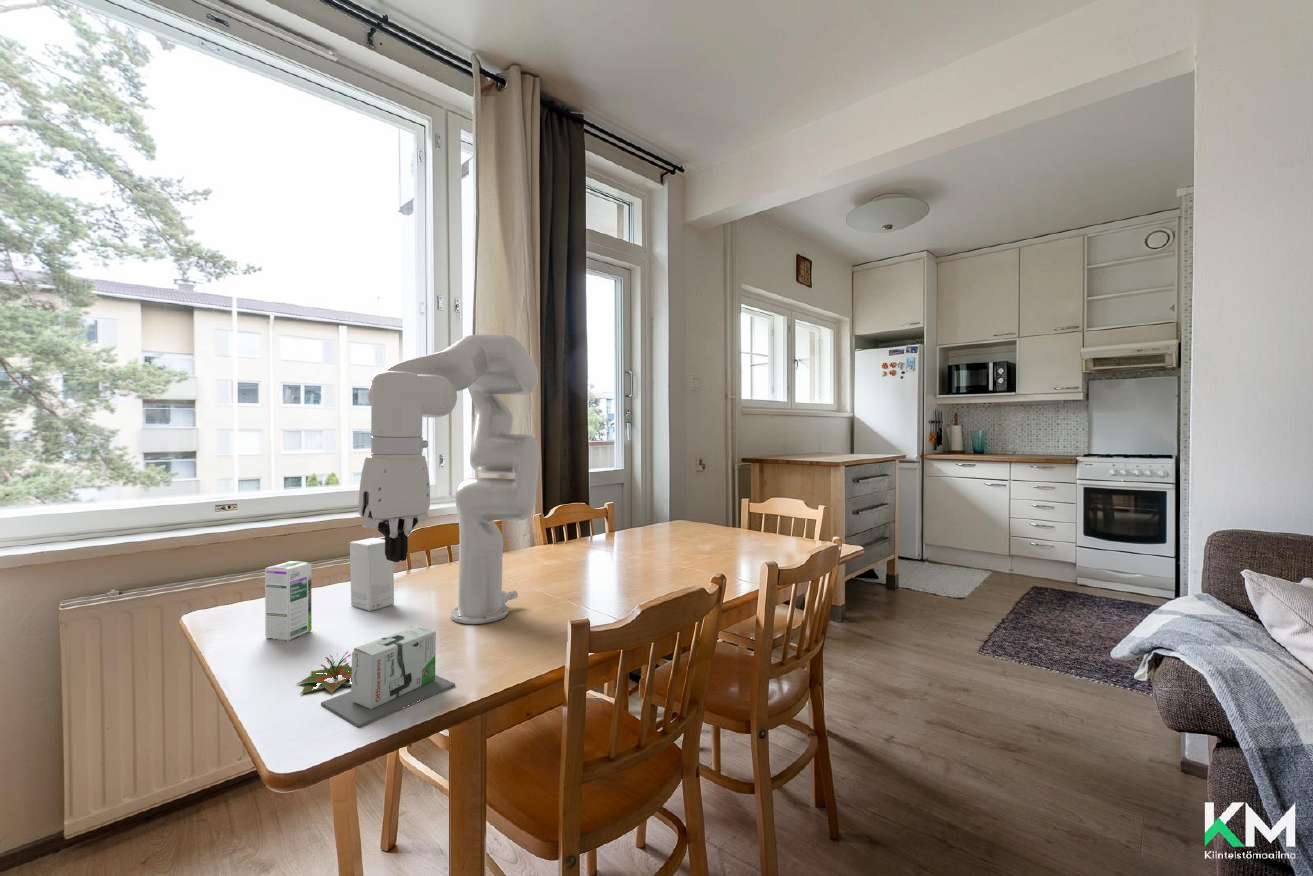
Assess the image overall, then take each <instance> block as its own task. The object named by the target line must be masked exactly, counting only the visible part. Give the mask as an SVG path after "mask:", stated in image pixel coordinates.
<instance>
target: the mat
mask: <svg viewBox="0 0 1313 876" xmlns="http://www.w3.org/2000/svg"><path fill="white" fill-rule="evenodd" d="M453 686H454V687H456V683H455V682H453V681H450V680H448V679H445V678H443V677H441V676H439V675H437V674H435V680H433V681H431V682H429V683H427V684H425V685H423V686H420V687H418V688H416V689H414V690H412V691H410V692H407V693H405V694H403V695H401V696H399V697H396V698H395V699H392V700H390V701H388V702H386V703H384V704H381V705H379V706H377V707H375V708H373V709H369V708H367V707H365V706H362V705H360V704H358V703H355V702H353V701H352V699H351V690H350V691H348V692H345V693H342V694H340V695H337V696H335V697H332V698H329V699H326V700H324V701H321V702H320V706H322V707H324V708H325V709H327V710H329V711H331V712H332V713H334V714H335V715H337V716H338V717H340V718H342V719H344V720H346V721H347V722H349V723H350V724H352V725H354V726H355V725H356V727H357V726H358V727H357V728H361V726H362V727H364V726H366V725H368V724H367V723H369V724H371V723H373V722H376V721H377V720H381V719H383V718H385V717H387V716H389V715H392V714H394V713H396V712H398V711H397V710H399V711H400V709H401V710H403V709H404V708H403V707H405V708H407V707H406V706H408V705H410V706H412V705H414V704H413V703H415V702H417V701H419V700H422V699H424V698H426V697H428V696H431V697H433V696H435V695H438V694H439V692H440V693H442V692H444V690H445V691H447V690H449V689H451V688H454V687H453ZM450 687H451V688H450ZM448 688H449V689H448ZM446 689H447V690H446ZM441 691H442V692H441ZM437 693H438V694H437ZM434 694H435V695H434ZM432 695H433V696H432ZM428 698H429V697H428ZM426 699H427V698H426ZM424 700H425V699H424ZM422 701H423V700H422ZM419 702H420V701H419ZM417 703H418V702H417ZM415 704H416V703H415ZM408 707H409V706H408ZM402 708H403V709H402ZM395 711H396V712H395ZM393 712H394V713H393ZM388 714H389V715H388ZM386 715H387V716H386ZM375 720H376V721H375ZM365 724H366V725H365ZM363 725H364V726H363Z"/></svg>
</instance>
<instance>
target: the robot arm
mask: <svg viewBox="0 0 1313 876" xmlns="http://www.w3.org/2000/svg"><path fill="white" fill-rule="evenodd" d="M538 385H539V372H538V368H537V366H536V364H535V361H534V359H533V358H532V357H531V355H530V354H529V352H528V351H527V349H526V347H525V346H524V345H523V344H522V342H521V341H519V339H517V338H515V337H514V336H512V335H507V334H470V335H467V336H464V337H462V338H461V339H459V340H458V341H456V342H454V343H452V344H451V345H450V346H448V347H447V348H445V349H444V350H442V351H438V352H434V353H430V354H426V355H424V356H418V357H415V358H411V359H407V360H405V361H403V360H402V361H400V362H398V363H395V364H393V365H391V366H389V367H388V368H386V369H384V370H381V371H377V372H375V373H374V374H373V376H372V377H371V383H370V385H369V387H368V392H367V393H368V394H367V397H368V402H369V405H370V408H371V411H370V414H371V415H370V417H371V419H370V420H371V421H370V431H371V433H370V436H371V437H370V438H371V439H370V453H371V454H370V456H365V458H364V461H363V462H364V463H363V466H362V470H361V475H360V482H359V492H358V493H359V495H358V508H357V509H358V515H359V516H360V517H362V523H361V526H362V528H365V529H372V530H377V531H378V532H379V533H380V534H381V536H382V537H384V539H385V555H386V559H387V560H390V561H393V563H399V562H403V561H407V554H408V552H409V551H408V549H409V547H408V546H409V545H408V544H409V543H408V542H409V537H410V535H411V534H412V532H413V531H412V530H413V529H414V528H415V526H416V525H417V524H419V523H422V522H423V521H426V520H428V519H429V513H428V511H429V510H430V506H431V486H430V485H431V483H430V475H429V467H428V463H427V462H428V461H427V459H426V456H425V455H423V453H424V451H423V450H424V449H427V448H428V447H429V441H428V440H424V437H423V418H442V417H446V416H447V415H448V414H450V413H451V412H452V411H453V410H454V409H455V407H456V404H457V401H458V395H457V394H458V393H457V392H462V391H464V390H466V389H468V392H469V396H470V397H471V400H472V403H473V407H474V409H475V422H474V429H473V435H472V440H471V447H470V454H469V455H470V456H469V462H470V463H469V464H470V466H471V468H472V470H474V471H476V472H477V473H480V474H481V473H482V474H491V475H492V474H493V475H514V478H502V477H501V478H499V477H472V478H467V479H465V480H463V481H462V482H461V483H459V485H458V487H457V489H456V492H455V507H456V511H457V512H456V513H457V517H458V526H459V529H458V530H459V553H458V554H459V555H458V558H459V559H458V602H457V603H458V605H457V607H455V608H454V609H452V611H450V618H451V620H452V621H454V622H456V623H459V624H465V625H466V624H467V625H478V624H479V625H480V624H488V623H492V622H496V621H500V620H502V619H504V618H506V617H507V616H508V615H509V611H510V610H509V607H508V605H506V603H507V602H508V601H511V600H514V599H517V598H518V596H519V594H518V591H517V590H511V591H508V592H506V591H505V590H503V561H504V559H503V557H504V556H503V554H504V553H503V552H504V538H503V534H502V532H501V530H500V528H499V527H498V525H497V524H496V522H495V521H512V522H513V521H525V520H527V519H529V518H530V517H531V516H532V513H533V512H534V508H535V502H536V496H537V494H536V493H537V487H538V486H537V485H538V477H539V467H540V459H541V458H540V446H539V443H538V441H537V439H536V438H535V437H534V436H531V435H529V434H523V433H522V434H521V433H512V427H513V420H514V419H513V414H512V412H511V410H510V409H509V407H508V405H507V404H506V403H505V401H503V399H502V398H501V397H500V396H499V395H515V396H516V395H518V396H519V395H520V396H524V395H529V394H532V393H533V392H534V391H535V390H536V389H537V387H538ZM507 614H508V615H507ZM506 615H507V616H506ZM505 616H506V617H505ZM499 619H500V620H499Z"/></svg>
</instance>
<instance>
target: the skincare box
mask: <svg viewBox="0 0 1313 876" xmlns="http://www.w3.org/2000/svg"><path fill="white" fill-rule="evenodd" d="M349 559H350V560H349V564H350V606H351V605H352V607H354V608H355V607H356V608H359V609H362V610H365V611H368V612H371V611H376V610H380V609H383V608H386V607H390V606H393V605H394V604H395V586H394V585H395V583H394V582H395V579H394V575H395V574H394V562H393V561H390V560H387V559H386V555H385V538H384V539H382V538H379V537H371V538H365V539H360V540H354V541H350V542H349Z"/></svg>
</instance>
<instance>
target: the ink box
mask: <svg viewBox="0 0 1313 876" xmlns="http://www.w3.org/2000/svg"><path fill="white" fill-rule="evenodd" d="M436 640H437V632H436V630H433V629H430V628H428V627H427V628H426V627H424V626H420V625H416V626H413V627H411V628H408V629H404V630H402V631H399V632H396V633H393V634H390V635H388V636H385V637H383V638H379V639H377V640H373V641H371V642H368V643H365V644H362V645H359V646H356V647H354V648H353V651H352V652H351V667H352V675H351V682H352V684H351V687H350V688H351V689H350V691H351V699H352V701H353V702H355V703H358V704H360V705H362V706H365V707H367V708H369V709H373V708H375V707H377V706H379V705H381V704H384V703H386V702H388V701H390V700H392V699H395V698H396V697H399V696H401V695H403V694H405V693H407V692H410V691H412V690H414V689H416V688H418V687H420V686H423V685H425V684H427V683H429V682H431V681H433V680H435V675H436V653H437V651H436V650H437V648H436V647H437V641H436Z"/></svg>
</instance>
